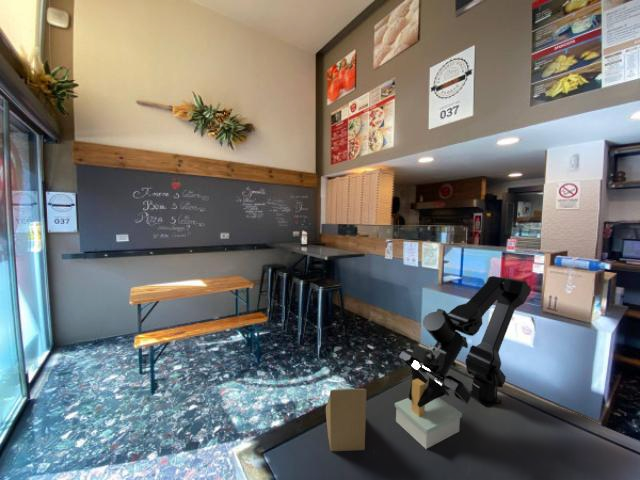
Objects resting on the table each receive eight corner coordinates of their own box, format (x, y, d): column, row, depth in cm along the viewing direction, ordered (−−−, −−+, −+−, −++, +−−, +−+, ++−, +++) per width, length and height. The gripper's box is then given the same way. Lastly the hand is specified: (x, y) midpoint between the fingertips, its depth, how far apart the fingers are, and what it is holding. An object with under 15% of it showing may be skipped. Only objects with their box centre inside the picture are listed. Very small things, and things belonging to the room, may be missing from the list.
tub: (427, 407, 78) (428, 394, 78) (459, 431, 69) (459, 416, 69) (395, 421, 73) (396, 407, 72) (426, 449, 64) (426, 432, 64)
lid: (427, 396, 78) (428, 363, 78) (461, 420, 69) (463, 382, 68) (394, 410, 73) (395, 374, 72) (426, 438, 63) (427, 397, 63)
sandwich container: (354, 406, 79) (355, 356, 78) (366, 450, 64) (367, 389, 63) (324, 407, 78) (325, 356, 77) (329, 451, 63) (330, 390, 62)
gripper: (404, 322, 78) (373, 368, 74) (465, 349, 61) (429, 411, 57) (423, 343, 82) (394, 388, 78) (484, 374, 65) (452, 434, 61)
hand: (414, 402), depth 68 cm, fingers closed on lid, 2 cm apart
